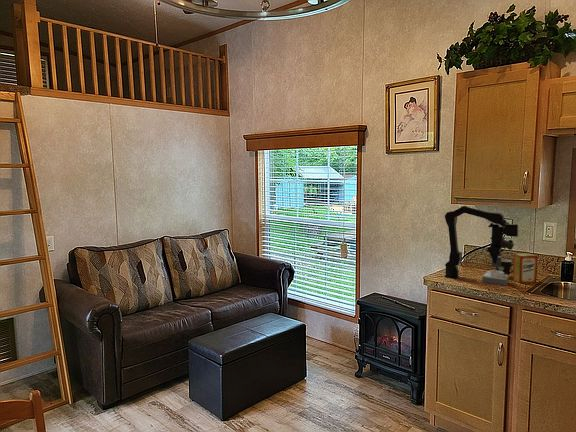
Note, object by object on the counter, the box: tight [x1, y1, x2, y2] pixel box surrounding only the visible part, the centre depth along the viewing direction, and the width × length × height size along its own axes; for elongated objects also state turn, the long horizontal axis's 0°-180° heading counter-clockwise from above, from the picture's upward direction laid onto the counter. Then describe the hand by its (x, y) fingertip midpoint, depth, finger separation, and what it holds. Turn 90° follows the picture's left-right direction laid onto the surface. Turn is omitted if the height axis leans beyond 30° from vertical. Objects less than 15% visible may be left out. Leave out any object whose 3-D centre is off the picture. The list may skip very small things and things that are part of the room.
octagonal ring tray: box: [481, 269, 510, 286], centre depth 234 cm, size 12×9×6 cm
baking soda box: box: [512, 253, 538, 284], centre depth 234 cm, size 10×6×16 cm
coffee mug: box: [495, 258, 514, 276], centre depth 245 cm, size 12×9×10 cm
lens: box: [490, 253, 502, 268], centre depth 233 cm, size 5×5×7 cm
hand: (496, 262), depth 233 cm, fingers closed on lens, 5 cm apart
